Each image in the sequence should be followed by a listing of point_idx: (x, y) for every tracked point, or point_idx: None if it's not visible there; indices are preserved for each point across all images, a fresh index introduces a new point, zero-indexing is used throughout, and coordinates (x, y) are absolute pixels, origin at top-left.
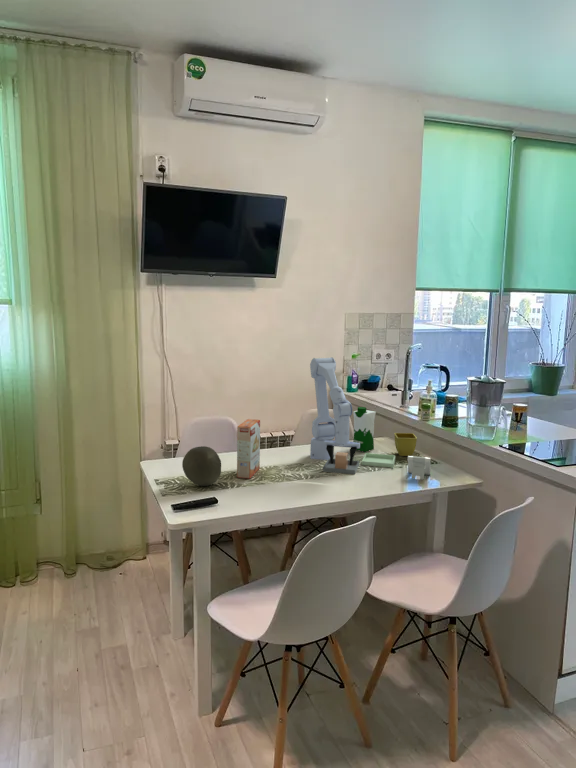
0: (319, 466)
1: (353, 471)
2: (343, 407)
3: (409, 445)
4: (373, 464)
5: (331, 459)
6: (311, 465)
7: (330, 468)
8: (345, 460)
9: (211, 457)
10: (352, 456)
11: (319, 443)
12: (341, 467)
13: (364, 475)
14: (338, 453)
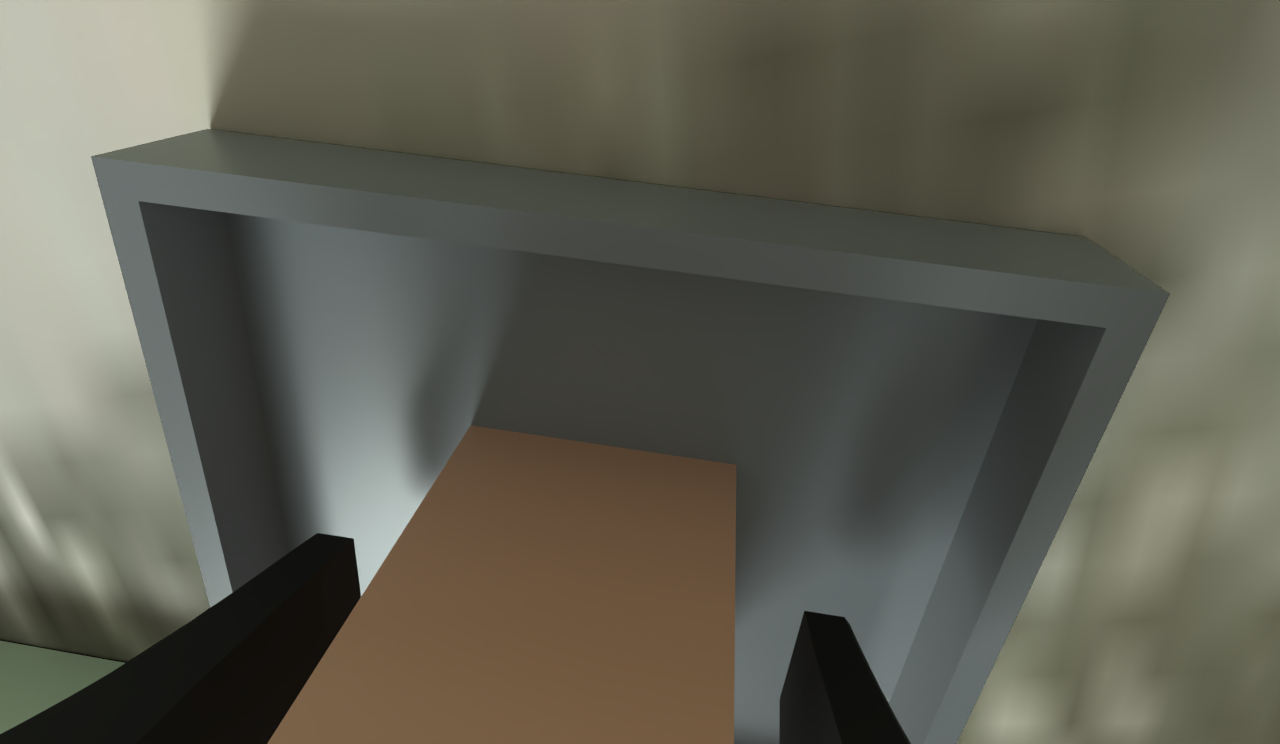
0: (1083, 668)
1: (169, 153)
2: None
3: None
4: (37, 697)
5: (863, 713)
6: (1263, 715)
7: (891, 254)
8: (384, 607)
9: None
10: (49, 722)
11: None
12: (567, 472)
13: (15, 184)
14: None
